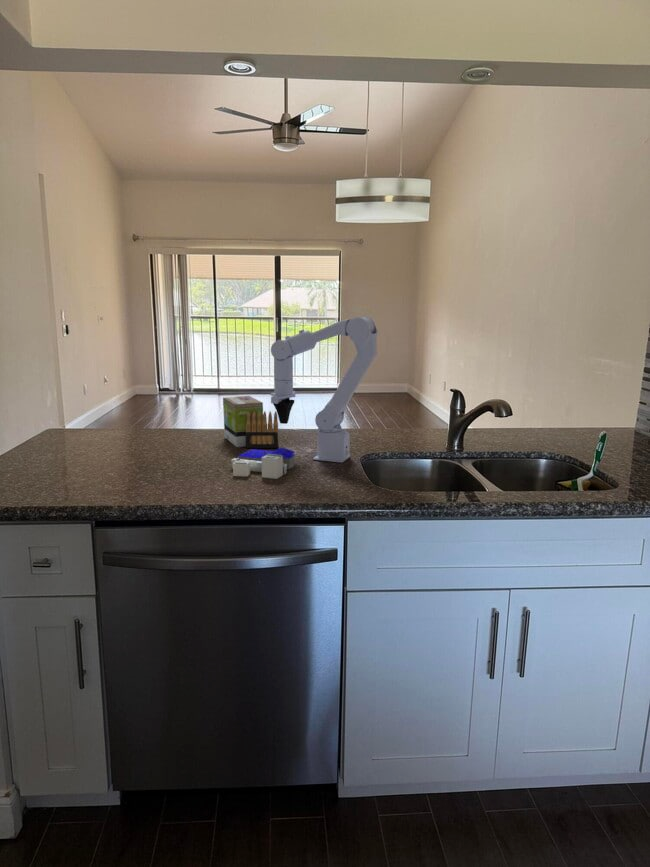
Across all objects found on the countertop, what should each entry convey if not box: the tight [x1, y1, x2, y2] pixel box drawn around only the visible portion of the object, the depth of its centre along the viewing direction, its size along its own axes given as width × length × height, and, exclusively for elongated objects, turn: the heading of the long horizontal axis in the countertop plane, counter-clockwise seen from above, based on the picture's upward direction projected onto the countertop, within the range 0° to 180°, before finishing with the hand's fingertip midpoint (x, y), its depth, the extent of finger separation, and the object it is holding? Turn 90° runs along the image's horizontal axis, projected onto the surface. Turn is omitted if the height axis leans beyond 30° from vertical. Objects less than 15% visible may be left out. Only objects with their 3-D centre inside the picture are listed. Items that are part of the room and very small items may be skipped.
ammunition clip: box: [244, 410, 280, 449], centre depth 191 cm, size 11×2×12 cm, turn 91°
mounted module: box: [261, 454, 284, 480], centre depth 159 cm, size 4×4×6 cm
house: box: [237, 447, 295, 470], centre depth 170 cm, size 11×15×5 cm
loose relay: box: [232, 461, 251, 477], centre depth 160 cm, size 4×3×4 cm
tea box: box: [222, 395, 264, 448], centre depth 198 cm, size 15×10×15 cm, turn 25°
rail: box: [230, 457, 288, 476], centre depth 164 cm, size 16×2×3 cm, turn 70°
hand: (283, 423), depth 181 cm, fingers closed
